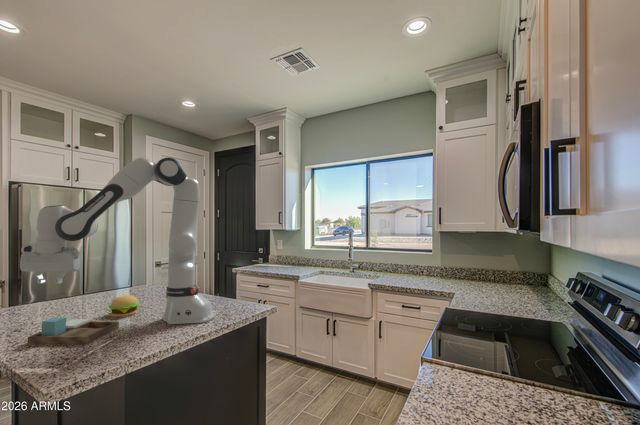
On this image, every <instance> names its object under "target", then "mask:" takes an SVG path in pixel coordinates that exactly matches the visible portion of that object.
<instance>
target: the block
mask: <svg viewBox="0 0 640 425" xmlns="http://www.w3.org/2000/svg"><path fill="white" fill-rule="evenodd" d="M41 331H42V334H41V336H56V335H59V334H61V333H63V332H66V317H64V316H62V317H59V316H57V317H55V316H53V317H51V318H48V319H46V320H43V321H42V320H41Z"/></svg>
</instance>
